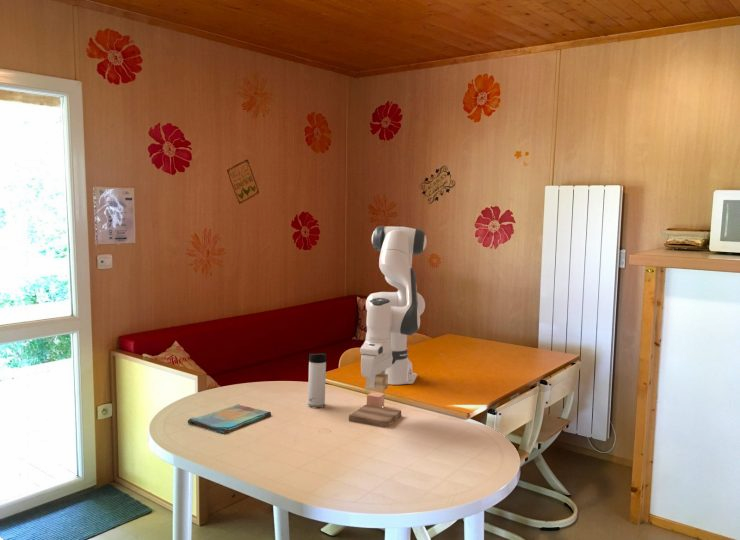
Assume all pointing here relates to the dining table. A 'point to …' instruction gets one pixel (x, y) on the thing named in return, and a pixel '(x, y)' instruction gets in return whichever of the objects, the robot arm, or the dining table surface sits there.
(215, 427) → the dish towel
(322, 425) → the dining table surface
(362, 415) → the base board
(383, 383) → the oak block
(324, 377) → the travel mug
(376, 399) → the terracotta block
